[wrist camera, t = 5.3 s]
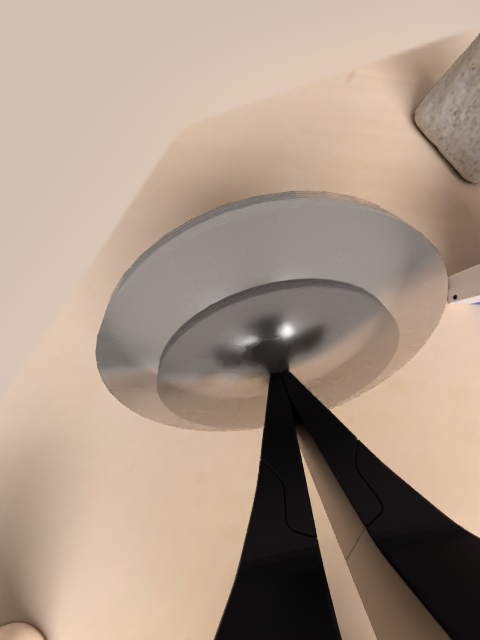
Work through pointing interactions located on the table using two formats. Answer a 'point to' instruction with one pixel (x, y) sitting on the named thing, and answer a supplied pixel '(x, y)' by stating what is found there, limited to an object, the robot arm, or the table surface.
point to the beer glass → (19, 632)
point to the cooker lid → (269, 309)
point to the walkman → (465, 286)
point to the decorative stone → (456, 114)
